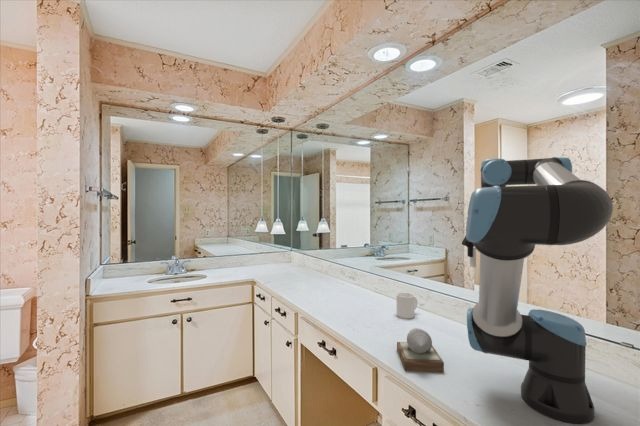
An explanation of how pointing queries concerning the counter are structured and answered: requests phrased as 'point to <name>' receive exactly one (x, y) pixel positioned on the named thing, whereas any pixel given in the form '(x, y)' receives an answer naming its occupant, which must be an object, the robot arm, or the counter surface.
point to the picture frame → (419, 359)
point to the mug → (406, 305)
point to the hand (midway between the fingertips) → (492, 266)
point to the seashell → (419, 341)
